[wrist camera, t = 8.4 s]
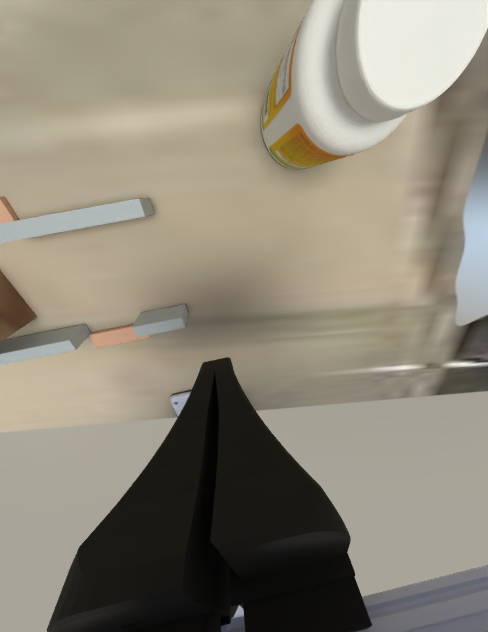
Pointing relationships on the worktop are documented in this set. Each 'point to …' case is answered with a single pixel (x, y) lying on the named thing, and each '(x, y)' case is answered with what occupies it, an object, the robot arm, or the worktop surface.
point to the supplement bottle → (364, 73)
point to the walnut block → (12, 309)
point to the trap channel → (7, 227)
